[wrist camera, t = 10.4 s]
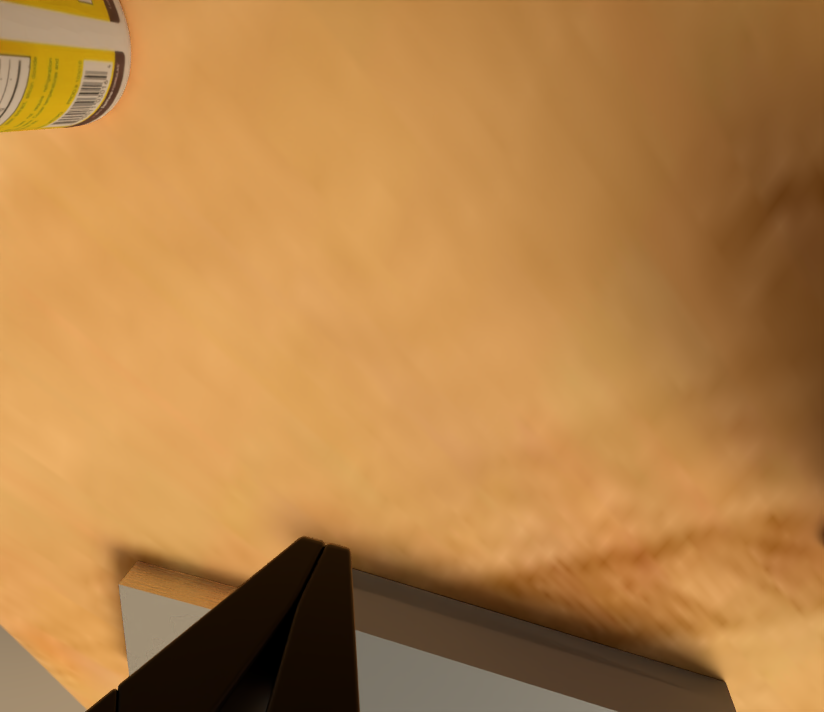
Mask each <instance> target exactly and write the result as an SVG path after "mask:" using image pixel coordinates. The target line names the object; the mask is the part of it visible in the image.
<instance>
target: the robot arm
mask: <svg viewBox="0 0 824 712" xmlns="http://www.w3.org/2000/svg"><path fill="white" fill-rule="evenodd" d="M86 712H360V703H359V685H358V668H357V650H356V632H355V615H354V597H353V580H352V562H351V551H350V549H349V548H347V547H343V546H339V545H336V544H332V543H328V544H327V545H325V543H324V542H323V541H321V540H317V539H314V538H310V537H306V536H303V537H300V538H299V539H297V540H296V541H295V542H294V543H292V544H291V545H290V546H289V547H288V548H286V549H285V550H284V551H283V552H281V553H280V554H279V555H278V556H277V557H275V558H274V559H273V560H272V561H270V562H269V563H268V564H267V565H265V566H264V567H263V568H262V569H261V570H259V571H258V572H257V573H256V574H254V575H253V576H252V577H251V578H249V579H248V580H247V581H246V582H245V583H243V584H242V585H241V586H240V587H238V588H237V589H236V590H235V591H233V592H232V593H231V594H230V595H229V596H227V597H226V598H225V599H224V600H222V601H221V602H220V603H219V604H218V605H216V606H215V607H214V608H213V609H211V610H210V611H209V612H208V613H206V614H205V615H204V616H203V617H202V618H200V619H199V620H198V621H197V622H195V623H194V624H193V625H192V626H190V627H189V628H188V629H187V630H186V631H184V632H183V633H182V634H181V635H179V636H178V637H177V638H176V639H174V640H173V641H172V642H171V643H170V644H168V645H167V646H166V647H165V648H163V649H162V650H161V651H160V652H158V653H157V654H156V655H155V656H154V657H152V658H151V659H150V660H149V661H147V662H146V663H145V664H144V665H143V666H141V667H140V668H139V669H138V670H136V671H135V672H134V673H133V674H131V675H130V676H129V677H128V678H127V679H125V680H124V681H123V682H122V683H120V684H119V686H118V690H117V689H113V690H111V691H110V692H109V693H108V694H106V695H105V696H104V697H103V698H102V699H100V700H99V701H98V702H97V703H95V704H94V705H93V706H92V707H91V708H89V709H88V710H87V711H86Z"/></svg>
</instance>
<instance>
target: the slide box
mask: <svg viewBox="0 0 824 712" xmlns="http://www.w3.org/2000/svg"><path fill="white" fill-rule="evenodd" d="M352 580H353V597H354V615H355V632H356V650H357V668H358V685H359V703H360V712H736V710H735V707H734V704H733V701H732V699H731V696H730V693H729V690H728V687H727V685H726V682H723V681H720V680H716V679H713V678H710V677H707V676H703V675H700V674H697V673H693V672H690V671H687V670H684V669H680V668H677V667H674V666H670V665H667V664H664V663H661V662H657V661H654V660H651V659H647V658H644V657H641V656H638V655H634V654H631V653H628V652H624V651H621V650H618V649H615V648H611V647H608V646H605V645H602V644H598V643H595V642H592V641H588V640H585V639H582V638H579V637H575V636H572V635H569V634H565V633H562V632H559V631H556V630H552V629H549V628H546V627H542V626H539V625H536V624H533V623H529V622H526V621H523V620H519V619H516V618H513V617H510V616H506V615H503V614H500V613H496V612H493V611H490V610H487V609H483V608H480V607H477V606H473V605H470V604H467V603H464V602H460V601H457V600H454V599H450V598H447V597H444V596H441V595H437V594H434V593H431V592H427V591H424V590H421V589H418V588H414V587H411V586H408V585H404V584H401V583H398V582H395V581H391V580H388V579H385V578H381V577H378V576H375V575H372V574H368V573H365V572H362V571H358V570H355V569H352Z"/></svg>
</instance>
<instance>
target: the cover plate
mask: <svg viewBox="0 0 824 712" xmlns="http://www.w3.org/2000/svg"><path fill="white" fill-rule="evenodd" d="M236 589H237V587H233V586H230V585H226V584H222V583H219V582H215V581H211V580H207V579H204V578H200V577H196V576H193V575H189V574H185V573H181V572H178V571H174V570H170V569H167V568H163V567H159V566H155V565H152V564H148V563H144V562H141V561H137V562H136V564H135V565H134V566H133V567H132V568H131V570H130V571H129V572H128V573H127V575H126V576H125V577H124V578H123V579H122V581H121V582H120V583H119V592H120V600H121V609H122V617H123V626H124V634H125V642H126V651H127V659H128V668H129V676H130V675H131V674H133V673H134V672H135V671H136V670H138V669H139V668H140V667H141V666H143V665H144V664H145V663H146V662H147V661H149V660H150V659H151V658H152V657H154V656H155V655H156V654H157V653H158V652H160V651H161V650H162V649H163V648H165V647H166V646H167V645H168V644H170V643H171V642H172V641H173V640H174V639H176V638H177V637H178V636H179V635H181V634H182V633H183V632H184V631H186V630H187V629H188V628H189V627H190V626H192V625H193V624H194V623H195V622H197V621H198V620H199V619H200V618H202V617H203V616H204V615H205V614H206V613H208V612H209V611H210V610H211V609H213V608H214V607H215V606H216V605H218V604H219V603H220V602H221V601H222V600H224V599H225V598H226V597H227V596H229V595H230V594H231V593H232V592H233V591H235V590H236Z"/></svg>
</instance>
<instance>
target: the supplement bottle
mask: <svg viewBox="0 0 824 712" xmlns="http://www.w3.org/2000/svg"><path fill="white" fill-rule="evenodd" d="M130 66H131V42H130V35H129V29H128V25H127V21H126V18H125V15H124V12H123V9H122V6H121V4H120V1H119V0H0V132H11V131H24V130H38V129H51V128H67V127H74V126H80V125H85V124H89V123H92V122H94V121H96V120H98V119H100V118H102V117H103V116H104V115H106V114H107V113H108V112H109V111H110V110H112V109H113V107H114V106H115V105H116V104H117V102H118V101H119V99H120V98H121V96H122V94H123V92H124V90H125V87H126V84H127V81H128V78H129V73H130Z"/></svg>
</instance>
